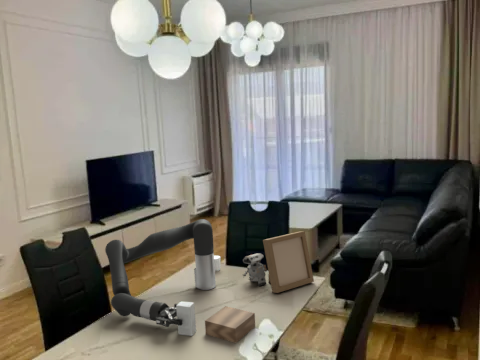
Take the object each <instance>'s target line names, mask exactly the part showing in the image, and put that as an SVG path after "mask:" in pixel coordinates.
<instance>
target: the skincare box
mask: <svg viewBox="0 0 480 360" xmlns="http://www.w3.org/2000/svg"><path fill="white" fill-rule="evenodd" d="M176 304H177V305H176V310H177V316H176V318H177V319H181V320H182V323H183V324H182V325H181V326H180V325H177V332H178V335H182V336H188V337H189V336H190V337H193V335H194V334H195V333H196V332H197V321H196V310H195V309H196V308H195V302H192V301H180V302H178V303H176Z"/></svg>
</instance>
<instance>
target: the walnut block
mask: <svg viewBox="0 0 480 360" xmlns="http://www.w3.org/2000/svg"><path fill="white" fill-rule="evenodd" d="M255 327H256V315H255V312H252V311H247V310H244V309H239V308H234V307H231V306H226V305H224V307H222V308H221V309H218V311H217V312H215V313H213V314H212V315H210V316H209V317H208V318H206V319H205V320H204V330H205V335H207V336H210V337H214V338H217V339H220V340H224V341H227V342H231V343H236V344H237V343H238V342H239V341H241V339H243V338H244V337H246V335H248V333H249V332H251V331H252V330H253V329H254V328H255Z"/></svg>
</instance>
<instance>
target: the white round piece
mask: <svg viewBox="0 0 480 360" xmlns="http://www.w3.org/2000/svg"><path fill="white" fill-rule="evenodd" d="M221 261H222V260H221V256H220V255H215V254H214V264H215V272H220V271H221Z"/></svg>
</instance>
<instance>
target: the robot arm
mask: <svg viewBox="0 0 480 360" xmlns="http://www.w3.org/2000/svg"><path fill="white" fill-rule="evenodd" d="M192 239H193V249H194V261H195V268H194V269H193V270H194V271H193V272H194V283H195V284H194V285H195V286H194V287H195V288H197V289H198V290H202V291H208V290H212V289H214V288H216V287H217V284H216V282H217V281H216V271H215V264H214V255H215V254H214V253H215V252H214V251H215V250H214V247H215V245H214V232H213V226H212V223H211V221H209V220H207V219H204V218H203V219H197V220H195V221H193V222H190V223H188V224H185V225H181V226H179V227H173V228H169V229H165V230H161V231H158V232H154V233H151V234H150V235H148V236H147V237H145V238H144V239H143V240H142V241H141V242H140V243H139V244H138V245H136V246H133V247H130V248H127V247H126V245H125V244H124V242H123V241H122V240H120V239H113V240H110V241H109V242H108V243H107V244H106V246H105V249H104V251H105V255H106V257H107V260H108V265H109V269H110V276H111V289H112V293H113V296H112V297H111V299H110V304H111V307H112V308H113V309H114V310H115V311H116V313H118V314H119V315H120V316H121V317H127V316H130V315H132V316H134V317H137V318H142V319H145V320H149V321H153V322H156V325H158V326H162V327H165V328H169V327H170V326H173V325H175V326H178V325H180V326H181V325H182V324H183V323H182V320H181V319H177V310H176V305H177V304H178V303H174V306H169V305H168V304H167V303H166V302H160V301H156V300H155V301H154V300H147V299H141V298H137V297H135V296H133V295H132V293H131V291H130V286H129V285H130V284H129V279H128V274H127V271H126V267H125V264H126V263H130V262H132V261H134V260H137V259H140V258H143V257H145V256H149V255H152V254H155V253H156V254H157V253H159V252H160V253H161V252H163V251H167V250H169V249H172V248H174V247H176V246H178V245H179V244H182V243H183V242H185V241H188V240H192Z"/></svg>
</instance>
